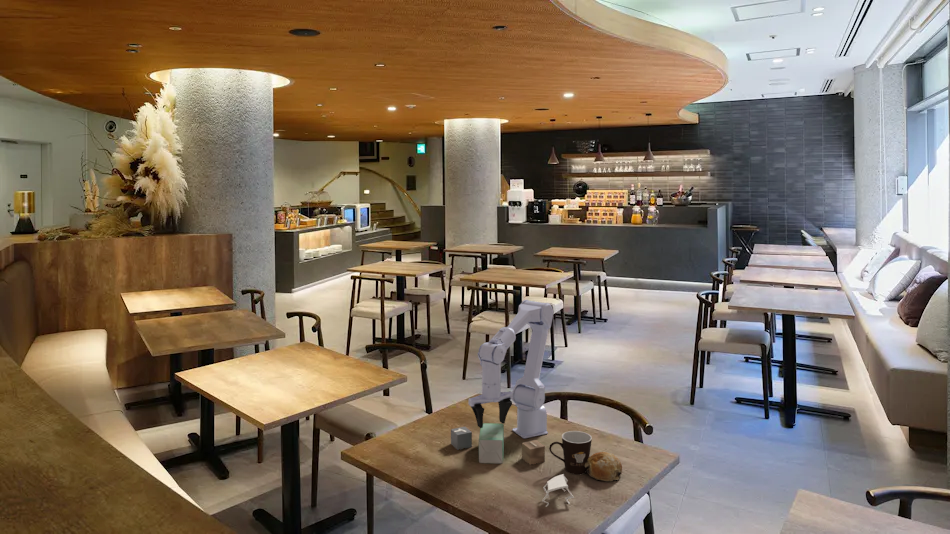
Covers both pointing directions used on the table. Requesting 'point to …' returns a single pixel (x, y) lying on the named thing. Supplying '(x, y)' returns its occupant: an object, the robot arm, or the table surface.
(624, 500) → the table surface
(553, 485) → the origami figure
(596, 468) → the bread roll
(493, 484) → the table surface
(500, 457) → the box
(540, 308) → the robot arm
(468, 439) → the charcoal cube
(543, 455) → the brown cardboard cube
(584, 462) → the coffee mug
